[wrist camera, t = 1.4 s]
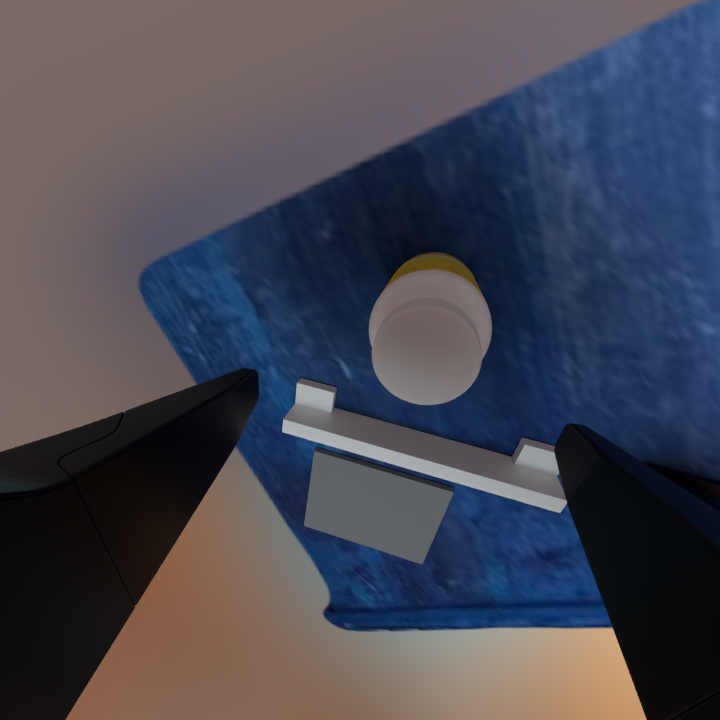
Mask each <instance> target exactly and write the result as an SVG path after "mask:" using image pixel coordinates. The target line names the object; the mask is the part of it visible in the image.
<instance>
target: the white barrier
mask: <svg viewBox="0 0 720 720" xmlns="http://www.w3.org/2000/svg"><path fill="white" fill-rule="evenodd" d="M336 393H337V388H336V387H333V386H329V385H325V384H321V383H318V382H314V381H310V380H307V379H303V378H301V379H300V380H299V381H298V382H297V389H296V400H295V404H294V405H293V407H292V408H291V409H290V411H289V412H288V414H287V415H286V416H285V418H284V419H283V429H282V432H284V433H288V434H291V435H294V436H298V437H301V438H305V439H308V440H311V441H315V442H318V443H322V444H325V445H329V446H332V447H335V448H339V449H342V450H346V451H349V452H352V453H356V454H359V455H363V456H366V457H370V458H373V459H376V460H380V461H383V462H387V463H390V464H394V465H397V466H400V467H404V468H407V469H411V470H414V471H417V472H421V473H424V474H428V475H431V476H435V477H438V478H441V479H445V480H448V481H452V482H455V483H459V484H462V485H465V486H469V487H472V488H476V489H479V490H482V491H486V492H489V493H493V494H496V495H500V496H503V497H506V498H510V499H513V500H517V501H520V502H523V503H527V504H530V505H534V506H537V507H541V508H544V509H547V510H551V511H554V512H558V513H560V512H561V511H562V510H563V508H564V507H565V505H566V504H567V501H566V497H565V494H564V491H563V488H562V486H561V484H560V482H559V480H558V477H557V475H558V474H559V470H558V466H557V462H556V458H555V453H554V448H555V446H552V445H548V444H545V443H541V442H537V441H534V440H530V439H526V438H522V439H521V440H520V442H519V444H518V446H517V448H516V450H515V452H514V454H513V456H512V457H511V456H507V455H504V454H500V453H496V452H493V451H489V450H486V449H482V448H478V447H475V446H471V445H467V444H464V443H460V442H457V441H453V440H449V439H446V438H442V437H439V436H435V435H431V434H428V433H424V432H421V431H417V430H413V429H410V428H406V427H402V426H399V425H395V424H392V423H388V422H384V421H381V420H377V419H374V418H370V417H366V416H363V415H359V414H355V413H352V412H348V411H345V410H341V409H337V408H334V406H335V400H336Z"/></svg>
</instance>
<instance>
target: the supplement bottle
mask: <svg viewBox="0 0 720 720" xmlns="http://www.w3.org/2000/svg"><path fill="white" fill-rule="evenodd" d="M491 335H492V321H491V315H490V312H489V309H488V305H487V303H486V301H485V298H484V297H483V295H482V293H481V291H480V289H479V286H478V284H477V282H476V280H475V278H474V276H473V274H472V273H471V271H470V270H469V269H468V268H467V266H466V265H465V264H464V263H463V262H461V261H460V260H459V259H457V258H455V257H453V256H451V255H448V254H445V253H440V252H429V253H424V254H420V255H417V256H415V257H413V258H411V259H409V260H408V261H406V262H405V263H404V264H403V265H401V266H400V267H399V269H398V270H397V271H396V272H395V274H394V275H393V277H392V278H391V279H390V281H389V283H388V284H387V285H386V287H385V288H384V290H383V291H382V292H381V294H380V295H379V297H378V299H377V301H376V303H375V305H374V307H373V310H372V312H371V316H370V322H369V338H370V343H371V346H372V362H373V367H374V371H375V373H376V375H377V377H378V379H379V380H380V382H381V383H382V384H383V386H384V387H385V388H386V389H387V390H388V391H389V392H391V393H392V394H393V395H395V396H396V397H398V398H400V399H402V400H404V401H407V402H410V403H414V404H419V405H436V404H441V403H445V402H448V401H451V400H453V399H455V398H457V397H458V396H460V395H461V394H463V393H464V392H465V391H466V390H467V389H468V388H469V387H470V386H471V385H472V384H473V383H474V381H475V379H476V378H477V376H478V374H479V371H480V368H481V363H482V359H483V357H484V356H485V354H486V352H487V350H488V347H489V344H490V340H491Z"/></svg>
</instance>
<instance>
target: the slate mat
mask: <svg viewBox="0 0 720 720" xmlns="http://www.w3.org/2000/svg"><path fill="white" fill-rule="evenodd" d="M453 493H454V488H453V487H450V486H446V485H443V484H439V483H436V482H433V481H429V480H426V479H422V478H419V477H416V476H412V475H409V474H405V473H402V472H399V471H395V470H392V469H388V468H385V467H382V466H378V465H375V464H371V463H368V462H365V461H361V460H358V459H355V458H351V457H348V456H344V455H341V454H338V453H334V452H331V451H327V450H324V449H321V448H317V447H316V449H315V451H314V457H313V465H312V472H311V479H310V486H309V493H308V501H307V508H306V515H305V522H304V526H306V527H309V528H312V529H316V530H319V531H322V532H325V533H328V534H331V535H334V536H337V537H340V538H343V539H346V540H349V541H352V542H355V543H358V544H361V545H364V546H368V547H371V548H374V549H377V550H380V551H383V552H386V553H389V554H392V555H395V556H398V557H401V558H404V559H407V560H410V561H413V562H416V563H419V564H423V561H424V559H425V557H426V555H427V552H428V550H429V548H430V546H431V543H432V541H433V539H434V536H435V534H436V532H437V530H438V527H439V525H440V523H441V521H442V518H443V516H444V514H445V511H446V509H447V507H448V505H449V502H450V500H451V498H452V495H453Z"/></svg>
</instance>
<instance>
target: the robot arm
mask: <svg viewBox="0 0 720 720" xmlns="http://www.w3.org/2000/svg"><path fill="white" fill-rule="evenodd" d="M258 398H259V382H258V373H257V371H256V370H253V369H247V368H242V369H239V370H236V371H234V372H231V373H228V374H225V375H223V376H220V377H217V378H214V379H212V380H209V381H206V382H203V383H201V384H198V385H195V386H192V387H190V388H187V389H184V390H182V391H179V392H176V393H173V394H171V395H168V396H165V397H162V398H160V399H157V400H154V401H152V402H149V403H146V404H143V405H140V406H138V407H135V408H132V409H129V410H127V411H125V413H124V412H121V413H118V414H116V415H113V416H110V417H107V418H105V419H102V420H99V421H96V422H93V423H90V424H87V425H84V426H82V427H78V428H75V429H72V430H69V431H66V432H63V433H60V434H57V435H53V436H50V437H47V438H44V439H41V440H37V441H34V442H31V443H28V444H24V445H21V446H18V447H15V448H12V449H9V450H5V451H2V452H0V720H65V719H66V718H67V716H68V714H69V713H70V711H71V710H72V708H73V706H74V705H75V703H76V702H77V700H78V698H79V697H80V695H81V693H82V692H83V690H84V689H85V687H86V686H87V684H88V682H89V681H90V679H91V678H92V676H93V674H94V672H95V671H96V670H97V668H98V666H99V665H100V663H101V661H102V660H103V658H104V657H105V655H106V653H107V652H108V650H109V649H110V647H111V645H112V644H113V642H114V640H115V639H116V637H117V636H118V634H119V633H120V631H121V629H122V628H123V626H124V625H125V623H126V621H127V620H128V618H129V617H130V615H131V613H132V612H133V610H134V608H135V605H137V603H138V602H139V600H140V598H141V597H142V595H143V594H144V592H145V590H146V589H147V587H148V585H149V584H150V582H151V581H152V579H153V578H154V576H155V574H156V573H157V571H158V570H159V568H160V566H161V565H162V563H163V561H164V560H165V558H166V557H167V555H168V554H169V552H170V550H171V549H172V547H173V545H174V544H175V542H176V541H177V539H178V537H179V536H180V534H181V533H182V531H183V529H184V528H185V526H186V525H187V523H188V521H189V520H190V518H191V517H192V515H193V513H194V512H195V510H196V509H197V507H198V505H199V504H200V502H201V501H202V499H203V497H204V495H205V494H206V493H207V491H208V489H209V488H210V486H211V485H212V483H213V481H214V480H215V478H216V477H217V475H218V473H219V472H220V470H221V469H222V467H223V465H224V464H225V462H226V460H227V459H228V457H229V456H230V454H231V452H232V451H233V449H234V448H235V446H236V444H237V443H238V441H239V439H240V437H241V435H242V433H243V431H244V428H245V426H246V424H247V422H248V420H249V418H250V416H251V414H252V412H253V409H254V407H255V405H256V403H257V401H258ZM554 453H555V458H556V462H557V466H558V470H559V474H560V478H561V482H562V486H563V490H564V494H565V497H566V501H567V504H568V507H569V510H570V513H571V516H572V518H573V521H574V524H575V527H576V529H577V532H578V535H579V537H580V540H581V543H582V545H583V548H584V551H585V554H586V556H587V559H588V562H589V564H590V567H591V570H592V573H593V575H594V578H595V581H596V583H597V586H598V589H599V592H600V594H601V597H602V600H603V602H604V605H605V608H606V610H607V613H608V616H609V619H610V621H611V624H612V627H613V629H614V632H615V635H616V638H617V640H618V643H619V646H620V648H621V651H622V654H623V656H624V659H625V662H626V665H627V667H628V670H629V673H630V675H631V678H632V681H633V683H634V686H635V689H636V692H637V694H638V697H639V699H640V702H641V705H642V708H643V710H644V713H645V716H646V719H647V720H720V482H717V481H713V480H709V479H705V478H702V477H698V476H694V475H690V474H687V473H683V472H679V471H675V470H672V469H668V468H664V467H660V466H657V465H653V464H644V463H643V462H641V461H640V460H638V459H636V458H635V457H633V456H632V455H630V454H629V453H627V452H625V451H624V450H622V449H621V448H619V447H618V446H616V445H615V444H613V443H611V442H610V441H608V440H607V439H605V438H604V437H602V436H601V435H599V434H597V433H596V432H594V431H593V430H591V429H590V428H588V427H586V426H584V425H579V424H572V423H570V424H567V425H566V426H565V427H564V429H563V431H562V433H561V435H560V437H559V439H558V440H557V442H556V444H555V448H554Z"/></svg>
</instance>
